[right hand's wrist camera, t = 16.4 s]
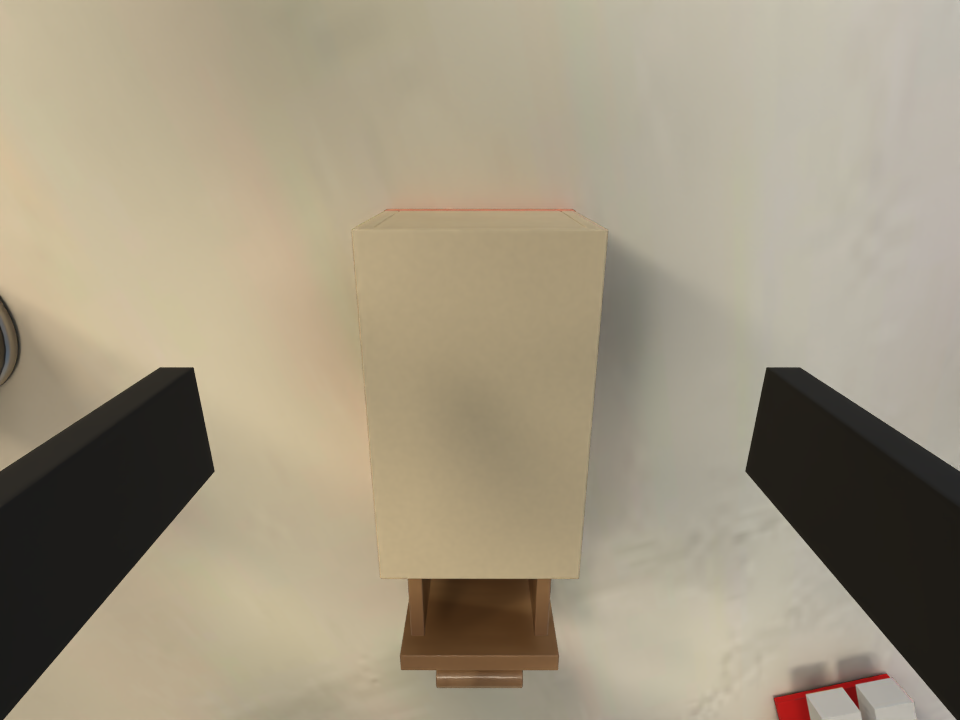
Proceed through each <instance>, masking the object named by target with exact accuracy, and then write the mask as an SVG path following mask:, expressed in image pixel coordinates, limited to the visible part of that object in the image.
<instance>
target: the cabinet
mask: <svg viewBox="0 0 960 720" xmlns="http://www.w3.org/2000/svg"><path fill="white" fill-rule="evenodd" d="M351 232H352V244H353V256H354V268H355V280H356V292H357V304H358V317H359V329H360V341H361V353H362V365H363V377H364V389H365V401H366V413H367V425H368V437H369V450H370V462H371V474H372V486H373V498H374V510H375V522H376V534H377V546H378V558H379V570H380V578H381V579H578V578H579V572H580V560H581V548H582V536H583V524H584V512H585V501H586V489H587V477H588V465H589V453H590V441H591V429H592V418H593V406H594V394H595V382H596V370H597V358H598V346H599V334H600V323H601V311H602V299H603V287H604V275H605V263H606V251H607V240H608V230H607V229H605V228H604V227H602V226H600V225H598V224H596V223H595V222H593V221H591V220H589V219H588V218H586V217H584V216H582V215H580V214H579V213H577V212H576V211H575V210H573V209H386V210H385V211H384V212H382V213H380V214H378V215H377V216H375V217H373V218H371V219H369V220H368V221H366V222H364V223H362V224H360V225H359V226H357V227H356V228H354V229H352V231H351Z"/></svg>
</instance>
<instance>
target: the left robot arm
mask: <svg viewBox="0 0 960 720" xmlns="http://www.w3.org/2000/svg"><path fill="white" fill-rule="evenodd" d="M17 353H18V345H17V337H16V332H15V329H14V325H13V323H12V320H11V318H10V316H9V314H8V312H7V310H6V309H5V307H4V305H3V304H2V302H1V301H0V385H1V384H3V383H4V382H5V381H6V380H7V378H8V377H9V376H10V374H11V373H12V371H13V369H14V366H15V363H16V359H17Z"/></svg>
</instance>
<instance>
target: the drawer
mask: <svg viewBox="0 0 960 720" xmlns="http://www.w3.org/2000/svg"><path fill="white" fill-rule="evenodd" d="M408 589H409V603H408V609H407V615H406V622H405V628H404V634H403V640H402V646H401V653H400V662H401V670H436V686H437V688H522V686H523V670H558V662H559V653H558V647H557V640H556V634H555V628H554V621H553V615H552V609H551V603H550V589H551V579H408Z"/></svg>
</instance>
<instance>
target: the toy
mask: <svg viewBox="0 0 960 720" xmlns="http://www.w3.org/2000/svg"><path fill="white" fill-rule="evenodd" d="M774 701H775V705H776V709H777V713H778V717H779V720H917V719H916V712H915V705H914V701H913V700H912V699H911V698H910V697H909V696H908V694H907V693H906V692H905V691H904V690H903V689H902V688H901V686H900V685H899V684H898V683H897V682H896V681H895V680H894V678H893V677H892V678H890V677H889V676H888V675H887V674H882V675H878V676H873V677H869V678H864V679H859V680H855V681H850V682H845V683H841V684H836V685H832V686H827V687H822V688H818V689H813V690H809V691H804V692H799V693H795V694H790V695H786V696H781V697H776V698H774Z"/></svg>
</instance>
